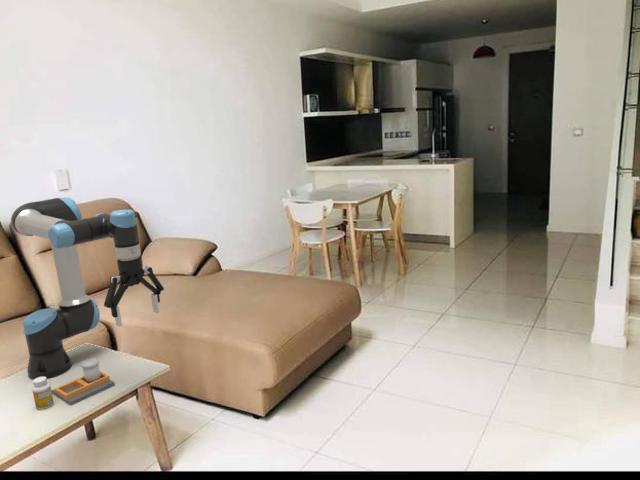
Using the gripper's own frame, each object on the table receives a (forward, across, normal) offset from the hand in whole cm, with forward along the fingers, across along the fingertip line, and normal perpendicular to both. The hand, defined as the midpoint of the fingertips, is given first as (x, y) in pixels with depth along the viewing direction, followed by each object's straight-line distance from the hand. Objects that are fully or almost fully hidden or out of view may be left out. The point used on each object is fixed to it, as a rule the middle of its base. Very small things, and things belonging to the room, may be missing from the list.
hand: (138, 318), depth 174 cm
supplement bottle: (+28, -26, +22) cm, 44 cm away
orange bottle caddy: (+27, -13, +21) cm, 37 cm away
